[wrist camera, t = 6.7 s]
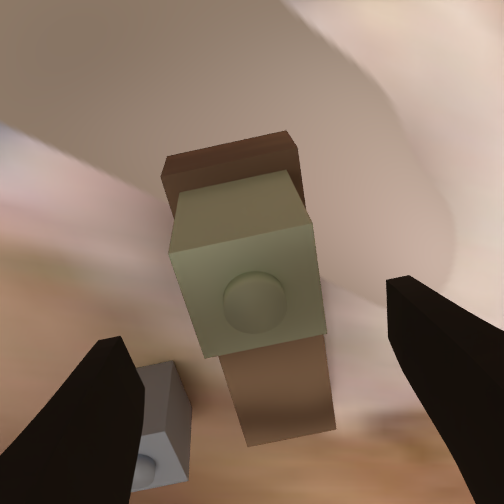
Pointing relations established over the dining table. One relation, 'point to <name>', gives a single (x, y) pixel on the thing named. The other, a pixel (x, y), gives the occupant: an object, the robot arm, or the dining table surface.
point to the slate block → (163, 429)
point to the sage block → (247, 264)
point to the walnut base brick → (273, 356)
